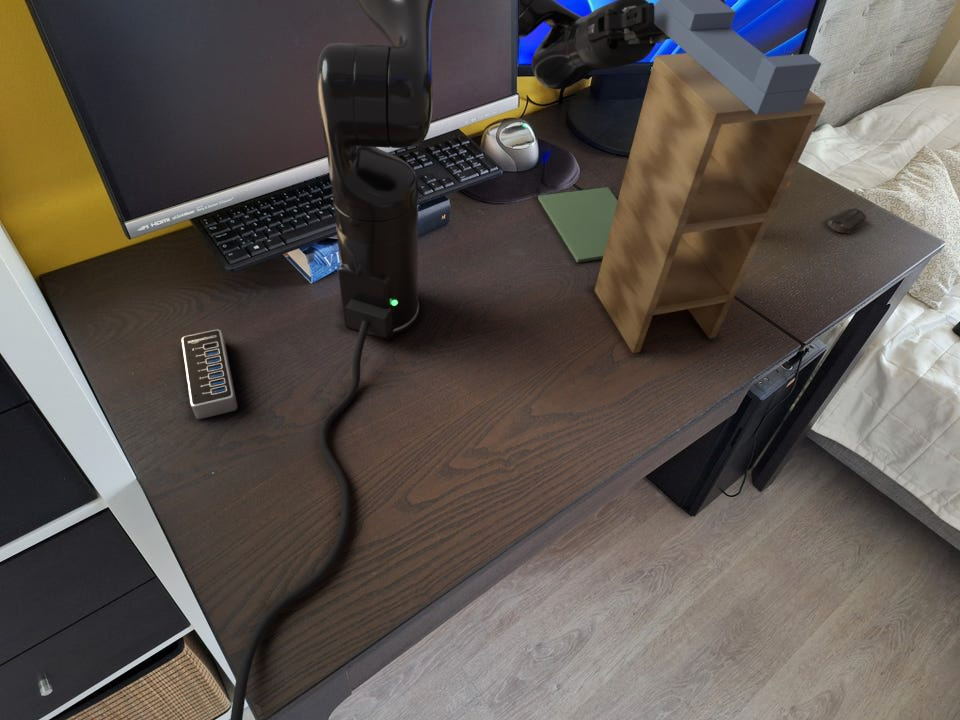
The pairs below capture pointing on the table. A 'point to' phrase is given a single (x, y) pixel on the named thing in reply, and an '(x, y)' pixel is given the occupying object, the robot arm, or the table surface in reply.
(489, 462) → the table surface
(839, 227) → the dark grey rounded device
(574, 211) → the mat
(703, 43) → the grey stepped plank
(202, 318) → the table surface
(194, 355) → the multiport hub
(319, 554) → the table surface
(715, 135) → the open shelf unit
